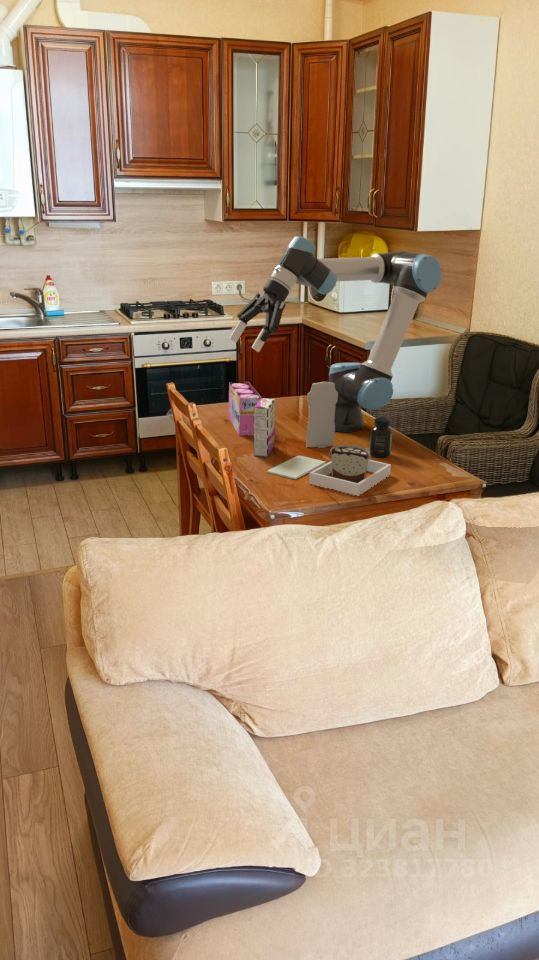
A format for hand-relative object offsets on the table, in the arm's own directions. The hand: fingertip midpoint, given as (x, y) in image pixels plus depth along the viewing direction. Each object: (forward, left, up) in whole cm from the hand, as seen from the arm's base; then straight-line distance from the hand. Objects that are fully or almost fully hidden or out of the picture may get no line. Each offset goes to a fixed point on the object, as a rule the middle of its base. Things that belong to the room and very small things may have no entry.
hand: (243, 345), depth 236 cm
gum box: (-27, -18, -36) cm, 48 cm away
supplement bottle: (-28, +35, -36) cm, 57 cm away
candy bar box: (-8, +3, -36) cm, 37 cm away
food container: (-2, +38, -36) cm, 52 cm away
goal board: (-1, +20, -35) cm, 41 cm away
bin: (-2, +38, -35) cm, 52 cm away
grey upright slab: (-24, +15, -36) cm, 45 cm away
